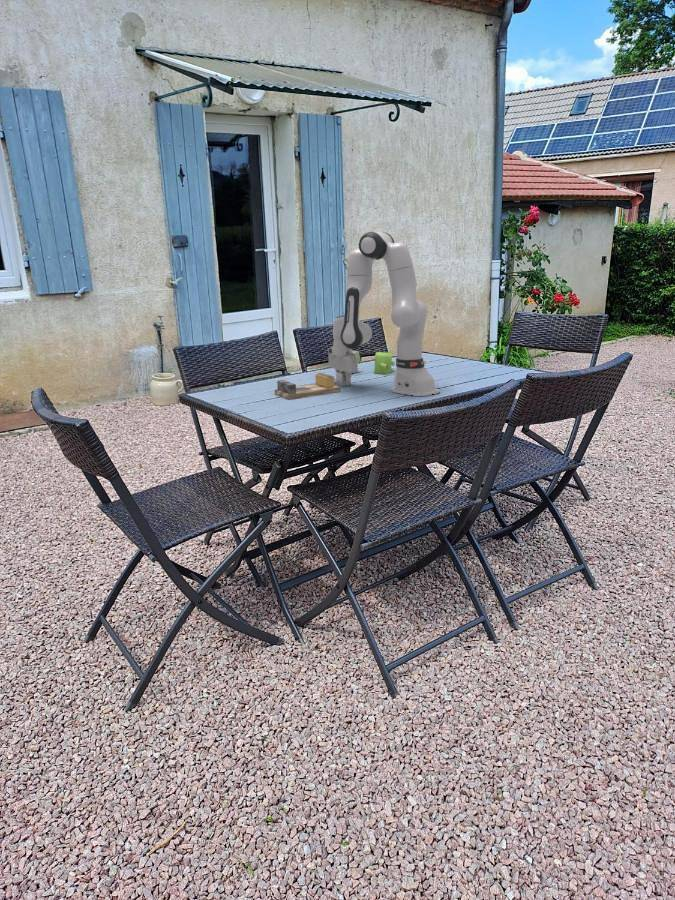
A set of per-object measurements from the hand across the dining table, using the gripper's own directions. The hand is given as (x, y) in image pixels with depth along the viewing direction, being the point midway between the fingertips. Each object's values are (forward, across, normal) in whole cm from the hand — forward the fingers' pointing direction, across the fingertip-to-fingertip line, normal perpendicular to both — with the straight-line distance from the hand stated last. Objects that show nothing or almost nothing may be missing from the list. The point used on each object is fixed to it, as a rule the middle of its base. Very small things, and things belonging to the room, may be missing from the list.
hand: (343, 380), depth 313 cm
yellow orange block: (0, -5, +13) cm, 14 cm away
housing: (+2, 0, 0) cm, 2 cm away
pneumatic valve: (+2, +21, -18) cm, 28 cm away
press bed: (+2, -5, +22) cm, 23 cm away
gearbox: (+2, +13, -33) cm, 36 cm away
